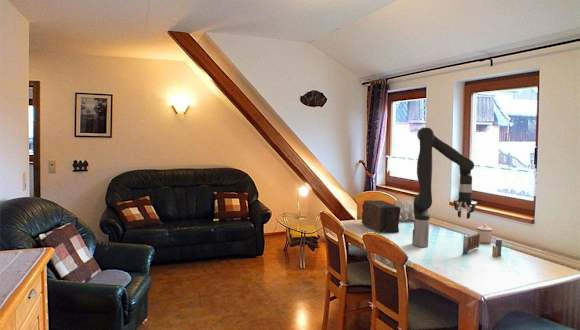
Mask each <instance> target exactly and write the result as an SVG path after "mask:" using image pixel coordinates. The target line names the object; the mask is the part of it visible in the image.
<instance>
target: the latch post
mask: <svg viewBox="0 0 580 330" xmlns="http://www.w3.org/2000/svg"><path fill="white" fill-rule="evenodd" d="M502 244H503V239H501V238H495V245H492V251H491V252H492V255H491V256H492V257H496V258H497V257H499V256H502V246H503V245H502Z"/></svg>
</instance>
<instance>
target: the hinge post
mask: <svg viewBox="0 0 580 330" xmlns="http://www.w3.org/2000/svg"><path fill="white" fill-rule="evenodd" d="M468 236H469V235H463V242H462V255H465V256H466V255H467V254H468V252H467V246H468Z"/></svg>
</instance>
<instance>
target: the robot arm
mask: <svg viewBox="0 0 580 330" xmlns="http://www.w3.org/2000/svg"><path fill="white" fill-rule="evenodd" d="M416 137H417V139H418V141H419V153H418V158H417V161H416V162H417V163H416V176H417V180H418V184H419V185H418V186H419V192H418V193H417V194H416V195H415V197H413V198H414V199H413V201H414V220H413V229H412V239H411V241H412V242H411V244H412V245H413V246H414V247H419V248H428V247H429V237H430V235H429V234H430V218H431V217H430V214H429V209H430V208H431V206H432V204H433V196H432V195H433V193H432V180H433V178H432V177H433V148H434V149H435V150H436V151H437V152H439V153H441V154H442V156H444V157H445V158H446V159H448V160H450V161H451V162H452V163H455V164H456V165H458V166H459V175H460V176H459V187H458V199H457V200H456V199H455V200H453V201H452V202H453V207H454V210H455V211H457V217H458V218H461V217H462V209H463V208H465V209H466V210H465V211H466V219H467V220H468V219H470V218H471V213H474V212H475V209H476V206H477V203H476V202H472V197H473V195H472V193H473V176H472V170H474V168H475V163H474V161H473V160H472V159H470V158H468V157H467V156H465V155H464V154H462V153H461V152H460V151H459V150H457V149H456V148H454V147H453V146H451V145H449V144H447V143H446V142H444V141H443V140H441V139H440V138H438V137H437V136H436V135H435V133H434V130H433V129H432V128H430V127H422V128H419V130H418V131H417V134H416ZM458 204H459V205H458Z"/></svg>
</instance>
